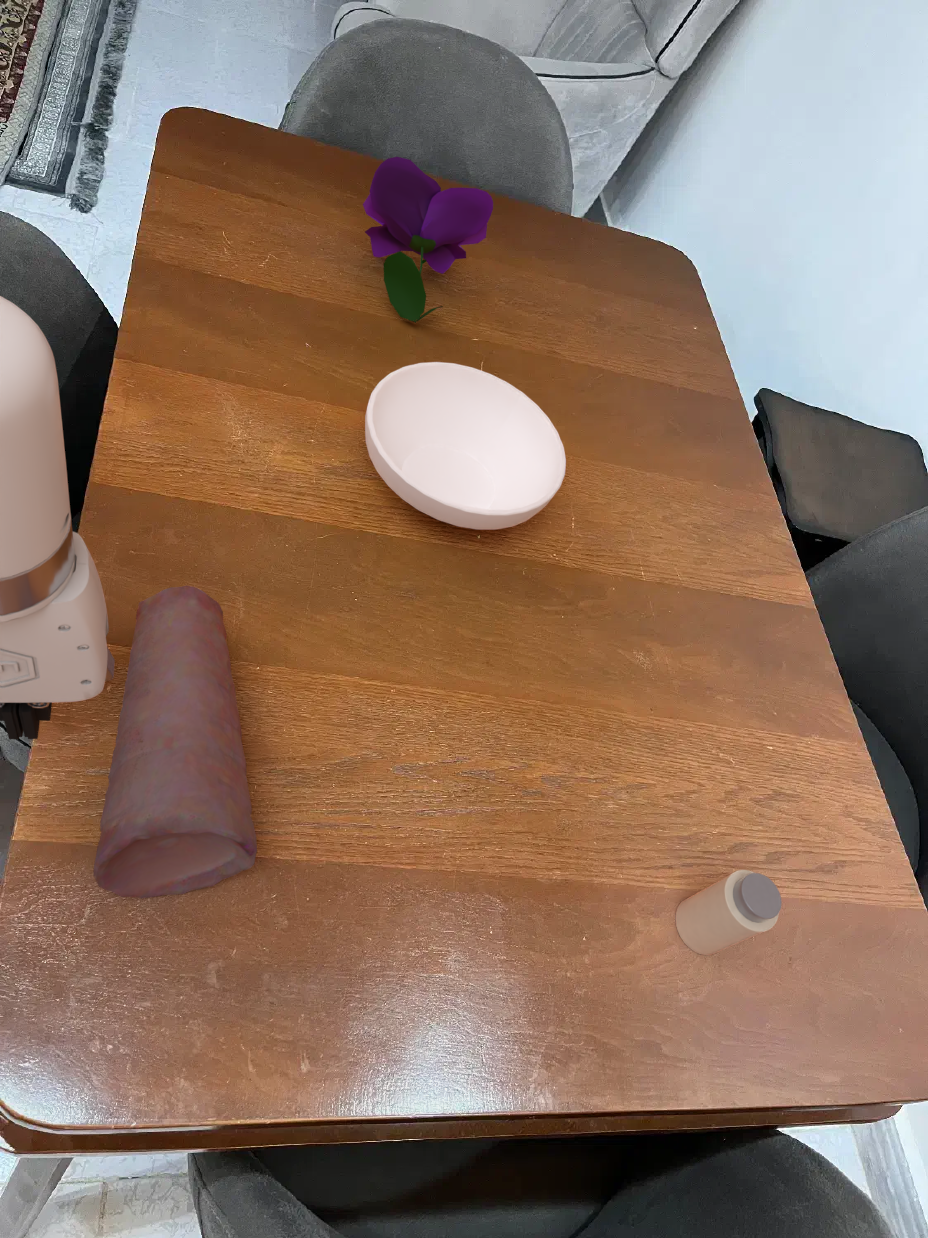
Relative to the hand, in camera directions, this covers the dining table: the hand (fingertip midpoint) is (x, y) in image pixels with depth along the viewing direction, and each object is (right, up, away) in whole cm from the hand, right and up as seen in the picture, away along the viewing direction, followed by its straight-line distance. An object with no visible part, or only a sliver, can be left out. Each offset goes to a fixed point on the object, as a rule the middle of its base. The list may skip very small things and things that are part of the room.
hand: (26, 718), depth 54 cm
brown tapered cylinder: (+8, -3, +7) cm, 11 cm away
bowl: (+26, +20, +30) cm, 45 cm away
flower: (+22, +45, +46) cm, 68 cm away
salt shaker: (+47, -18, +12) cm, 51 cm away
